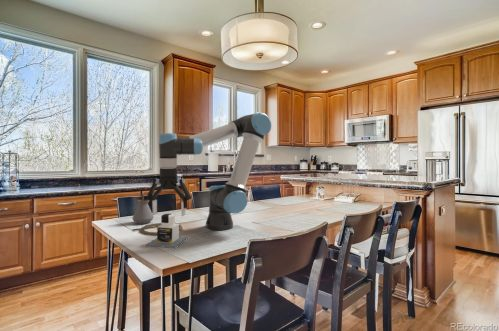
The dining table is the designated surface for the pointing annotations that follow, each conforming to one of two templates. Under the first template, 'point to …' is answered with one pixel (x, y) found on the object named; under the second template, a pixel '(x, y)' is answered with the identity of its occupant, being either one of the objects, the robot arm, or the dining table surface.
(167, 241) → the medicine bottle
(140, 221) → the coffee pot
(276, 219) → the dining table surface
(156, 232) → the woven rattan coaster
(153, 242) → the slate mat
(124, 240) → the dining table surface
